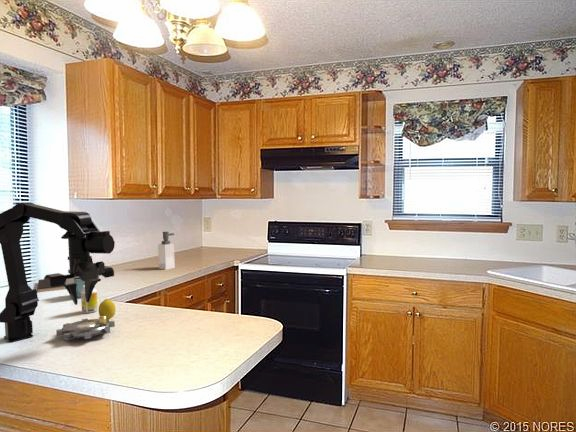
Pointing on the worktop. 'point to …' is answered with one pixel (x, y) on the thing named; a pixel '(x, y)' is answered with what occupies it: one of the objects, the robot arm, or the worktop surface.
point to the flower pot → (79, 287)
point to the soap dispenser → (166, 253)
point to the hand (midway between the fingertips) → (81, 303)
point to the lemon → (107, 309)
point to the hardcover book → (47, 287)
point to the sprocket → (85, 328)
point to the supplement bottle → (92, 304)
